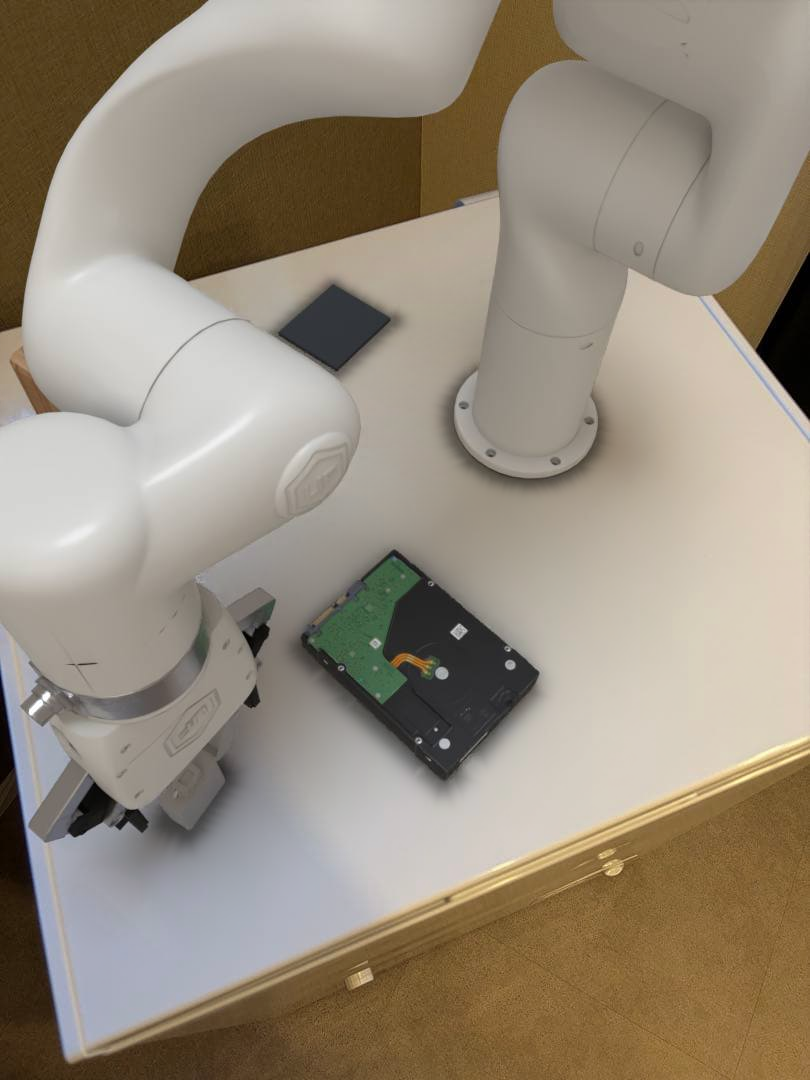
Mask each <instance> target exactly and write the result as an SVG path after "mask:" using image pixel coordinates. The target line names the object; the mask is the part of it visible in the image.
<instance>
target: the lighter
mask: <svg viewBox="0 0 810 1080" xmlns="http://www.w3.org/2000/svg"><path fill="white" fill-rule="evenodd" d="M239 712H240V710H239V708H238V709H237V711H236V712H235V713H234V714H233V715H232V716H231V717H230V718H229V720H228V721H227V722H226V723H225V724H224V725H223V726H222V727H221V729H220V730H219V731H218V732H217V733H216V734H215V735H214V736H213V737H212V739H211V740H210V741H209V742H208V743H207V744H206V745H205V746H204V747H203V748H202V750H201V751H200V752H199V753H198V754H197V755H196V756H195V757H194V758H193V759H192V760H191V762H190V763H189V764H188V765H187V766H186V767H185V768H184V769H183V770H182V771H181V772H180V773H179V775H178V776H177V777H176V778H175V779H174V780H173V781H172V782H171V783H170V784H169V785H168V786H167V787H166V789H165V790H164V791H163V792H164V793H163V794H162V795H161V796H160V797H159V799H158V804H159V806H160V807H161V808H162V810H163V811H164V812H165V813H166V814H167V816H168V817H169V818H170V819H171V821H173V822H175V823H176V824H178V825H180V826H181V827H182V828H184V829H185V830H187V831H190V830H191V831H192V830H193V828H194V827H195V826H196V825H197V823H198V822H199V820H200V818H201V817H202V816H203V814H204V813H205V811H206V810H207V808H208V807H209V806H210V804H211V803H212V801H213V800H214V799H215V798H216V796H217V795H218V794H219V792H220V790H221V789H222V788H223V786H224V785H225V784H226V777H225V775H224V773H223V772H222V769H221V768H220V766H219V764H218V762H219V761H220V760H221V759H222V758H223V757H224V756H225V754H227V753H228V751H230V749H231V748H232V744H233V740H234V735H235V730H236V725H237V721H238V716H239Z"/></svg>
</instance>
